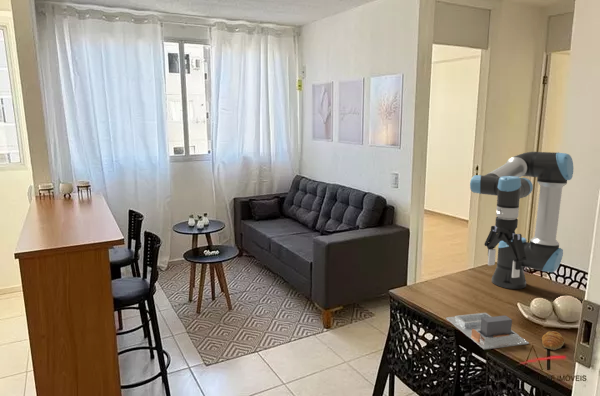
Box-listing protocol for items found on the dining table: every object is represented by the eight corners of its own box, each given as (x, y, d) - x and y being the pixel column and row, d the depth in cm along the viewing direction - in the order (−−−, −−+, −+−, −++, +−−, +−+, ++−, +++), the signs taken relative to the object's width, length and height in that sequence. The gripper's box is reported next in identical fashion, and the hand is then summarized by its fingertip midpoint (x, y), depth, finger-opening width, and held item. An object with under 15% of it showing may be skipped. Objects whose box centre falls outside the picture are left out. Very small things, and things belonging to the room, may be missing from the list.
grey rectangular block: (503, 333, 157) (505, 315, 156) (510, 337, 154) (512, 319, 152) (480, 335, 155) (481, 317, 154) (486, 340, 151) (487, 322, 150)
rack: (485, 314, 174) (486, 306, 173) (528, 343, 151) (529, 334, 150) (446, 318, 170) (446, 310, 169) (484, 349, 147) (484, 339, 146)
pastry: (559, 354, 144) (561, 343, 144) (537, 347, 149) (538, 337, 148) (565, 343, 151) (566, 333, 151) (543, 337, 156) (544, 327, 155)
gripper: (477, 211, 170) (474, 261, 175) (522, 226, 147) (517, 284, 151) (493, 209, 172) (490, 259, 176) (540, 224, 148) (535, 281, 152)
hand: (502, 270), depth 163 cm, fingers open, 13 cm apart
